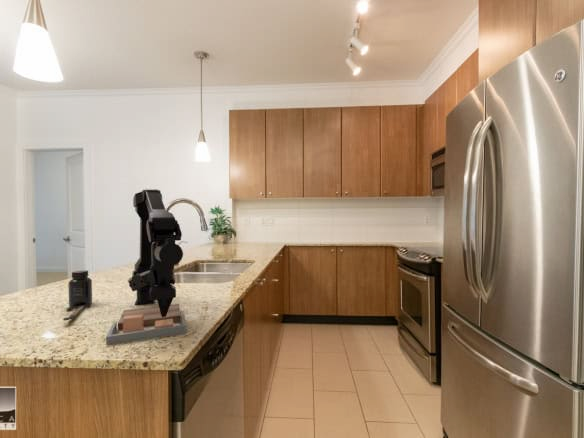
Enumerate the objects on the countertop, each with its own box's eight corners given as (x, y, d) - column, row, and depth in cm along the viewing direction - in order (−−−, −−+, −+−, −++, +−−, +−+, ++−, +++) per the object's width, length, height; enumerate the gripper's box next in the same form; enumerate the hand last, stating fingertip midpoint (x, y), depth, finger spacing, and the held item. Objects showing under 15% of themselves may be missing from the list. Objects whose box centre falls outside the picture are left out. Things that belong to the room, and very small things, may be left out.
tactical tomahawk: (68, 309, 100) (68, 306, 100) (91, 306, 103) (91, 303, 103) (43, 326, 81) (42, 322, 81) (72, 322, 83) (71, 318, 83)
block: (154, 326, 76) (154, 336, 76) (173, 324, 78) (173, 333, 78) (155, 321, 80) (155, 330, 80) (172, 318, 82) (172, 327, 82)
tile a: (125, 315, 79) (122, 319, 76) (143, 314, 80) (141, 317, 78) (125, 332, 79) (123, 336, 77) (143, 330, 80) (142, 333, 78)
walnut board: (123, 318, 91) (123, 310, 91) (179, 311, 97) (178, 303, 97) (117, 332, 80) (117, 323, 80) (180, 323, 86) (180, 315, 86)
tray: (113, 333, 79) (113, 322, 79) (184, 323, 86) (183, 313, 86) (106, 349, 70) (106, 336, 70) (186, 336, 77) (185, 325, 77)
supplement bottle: (96, 302, 108) (96, 269, 107) (81, 308, 101) (80, 273, 101) (80, 301, 108) (79, 269, 108) (63, 307, 102) (63, 273, 102)
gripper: (133, 258, 87) (134, 310, 88) (125, 268, 70) (126, 333, 70) (174, 256, 92) (174, 305, 92) (175, 265, 74) (176, 326, 75)
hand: (163, 316), depth 82 cm, fingers closed
